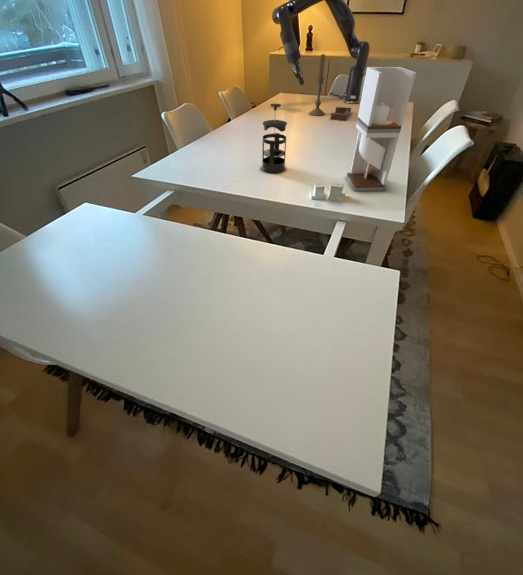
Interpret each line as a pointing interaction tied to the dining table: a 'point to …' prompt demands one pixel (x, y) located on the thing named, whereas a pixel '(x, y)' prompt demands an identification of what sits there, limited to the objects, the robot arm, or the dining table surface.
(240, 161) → the dining table surface
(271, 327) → the dining table surface
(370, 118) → the white architectural model
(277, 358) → the dining table surface
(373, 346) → the dining table surface
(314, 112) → the candlestick holder
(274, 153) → the french press
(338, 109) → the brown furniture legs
